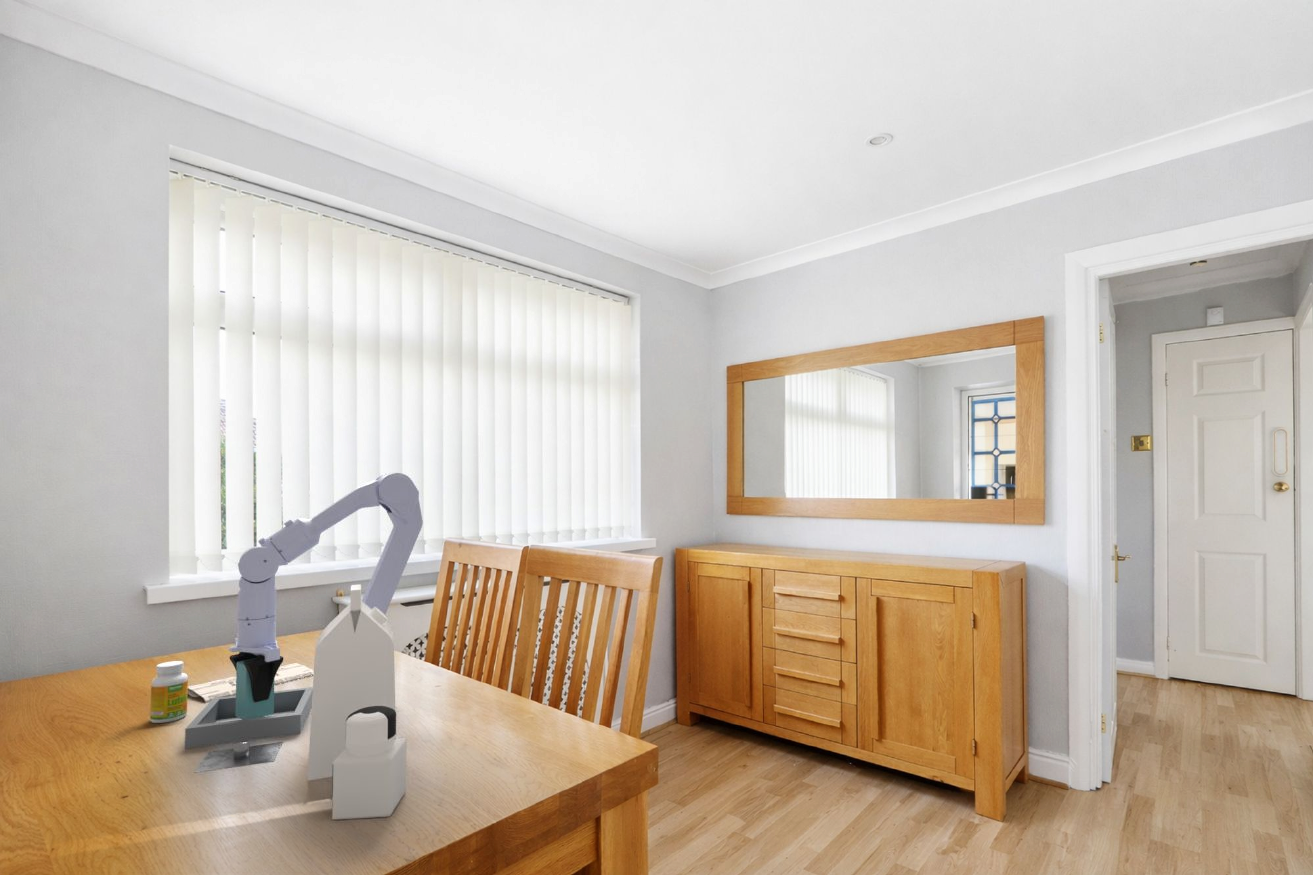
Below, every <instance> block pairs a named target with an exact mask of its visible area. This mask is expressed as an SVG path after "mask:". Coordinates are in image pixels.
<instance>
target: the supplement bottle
mask: <svg viewBox="0 0 1313 875" xmlns="http://www.w3.org/2000/svg"><path fill="white" fill-rule="evenodd" d="M184 664H185V663H184V661H182V660H172V661H165V662H162V663H159V664H157V665H156V669H155V670H156V671H155V672H156V674H157V676H156V677H154V678H153V679H152V680H151V684H150V712H149V713H150V714H149V721H150V722H151V723H152V724H165V723H172V722H175V721H179V720H181V719H183V718H185V717H186V716H187V714H188V695H189V694H188V686H189V685H188V684H189V676H188V675H187V673H184V672H183V670H184V666H185V665H184Z"/></svg>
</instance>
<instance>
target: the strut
mask: <svg viewBox="0 0 1313 875" xmlns="http://www.w3.org/2000/svg"><path fill="white" fill-rule="evenodd" d="M255 659H257V658H255ZM250 660H251V659H250ZM244 661H246V660H244ZM235 671H236V675H235V676H236V695H235V696H236V712H235V716H237V717H238V719H239V720H242V719H250V718H258V717H267V716H273V715H275V713H274V691H275V686H274V681H273V684H272V688H271V692H270V696H269V699H267V700H263V701H259V702H254V700H253V696H252V689H251V681H250V677H249V674H248V671H247V669H246V667H245V665H244V664H243V661H239V662H237V670H236V669H235Z"/></svg>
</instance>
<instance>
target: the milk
mask: <svg viewBox="0 0 1313 875" xmlns="http://www.w3.org/2000/svg"><path fill="white" fill-rule="evenodd" d="M349 592H350V593H349V594H350V603H349V604H348V605H347V606H346V607H345V608H344V609H343V610H342V611H341V612H339V614H337V616H335V618H333V619H332V621H330V622H329V624H328V625H327V626H325V628H324V629H322V631H321V632H320V633H319V634H318V635H319V636H318V637H317V641H316V642H315V643H316V644H315V650H314V660H313V661H314V662H313V670H314V675H313V676H312V677H313V681H312V687H313V693H312V709H311V710H310V716H311V717H310V727H309V728H310V731H309V746H308V762H307V763H308V766H307V782H309V781H315V780H321V779H325V778H326V779H327V778H331V777H332V773H333V762H334V761H335V760H336V759H337V758H338V756H339V755H340V754H341V753H342V752H343V751H344V750H345V749H346V719H347V717H348V716H349V715H350V714H351V713H353V712H355V711H357V710H359V709H362V708H366V707H371V706H386V707H389V708H392V709H394V710H395V711H396V680H395V679H396V677H395V676H396V675H395V643H394V642H395V641H394V633H393V627H392V626H391V625H390V624H389V623H388V616H386V615H384V614H383V613H382V612H381V611H380V610H379V609H378V608H377V607H374V608H373V609H371V608H370V607H368V606H367V605H366V604H365V603H363V602H362V583H360V584H351V585H350V591H349ZM396 712H397V711H396Z"/></svg>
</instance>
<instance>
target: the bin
mask: <svg viewBox="0 0 1313 875" xmlns="http://www.w3.org/2000/svg"><path fill="white" fill-rule="evenodd" d="M312 693H313V686H311V687H310V686H309V687H302V688H292V689H284V690H274V715H268V716H264V717H258V718H250V719H239V718H238V717H237V716H235V712H236V695H235V696H228V697H219V698H213V699H212V700H211V701H210V702H208V704H206V706H205V707H203V709H202V710H201V711H200V712H199V714H197V715H196V716H195V718H194V719H192V721H191V722H190V723H189V724H188V725H187V726H186V728H184V729H185V731H184V733H185V734H184V736H185V737H184V750H186V749H187V750H189V749H194V748H202V747H208V746H217V745H224V744H232V743H233V744H234V743H235V742H238V741H242V740H248V741H256V740H263V739H269V738H277V737H284V736H293V735H299V734H301V733H302V731H303V730H304V729H303V728H304V727H305V724H306V722H307V720H308V717H309V715H310V714H311V710H312ZM287 712H293V713H287ZM278 713H282V714H278ZM284 713H285V714H284ZM275 714H276V715H275ZM237 718H238V719H237ZM230 719H234V720H230ZM235 719H236V720H235ZM222 720H227V721H222ZM217 721H219V722H217Z"/></svg>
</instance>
